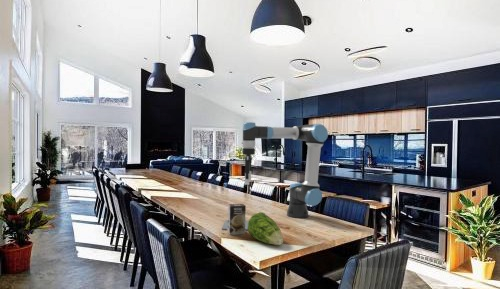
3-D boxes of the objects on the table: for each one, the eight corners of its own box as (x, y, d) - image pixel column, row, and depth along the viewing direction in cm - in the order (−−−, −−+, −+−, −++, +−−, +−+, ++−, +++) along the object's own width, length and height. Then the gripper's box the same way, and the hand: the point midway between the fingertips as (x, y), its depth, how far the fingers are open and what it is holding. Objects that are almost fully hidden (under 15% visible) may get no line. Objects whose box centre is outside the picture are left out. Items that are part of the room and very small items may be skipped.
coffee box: (229, 235, 167) (230, 206, 167) (227, 231, 173) (227, 203, 173) (245, 234, 169) (245, 205, 169) (242, 230, 176) (243, 203, 175)
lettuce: (269, 258, 146) (270, 234, 143) (243, 235, 165) (243, 214, 161) (291, 249, 154) (293, 226, 150) (264, 228, 172) (264, 207, 169)
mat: (253, 222, 194) (253, 221, 194) (252, 230, 176) (252, 229, 176) (225, 221, 194) (225, 220, 194) (221, 229, 176) (221, 228, 176)
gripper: (244, 147, 194) (243, 180, 195) (240, 148, 169) (239, 185, 170) (256, 147, 194) (255, 180, 194) (253, 148, 169) (252, 186, 169)
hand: (248, 183), depth 182 cm, fingers open, 13 cm apart
